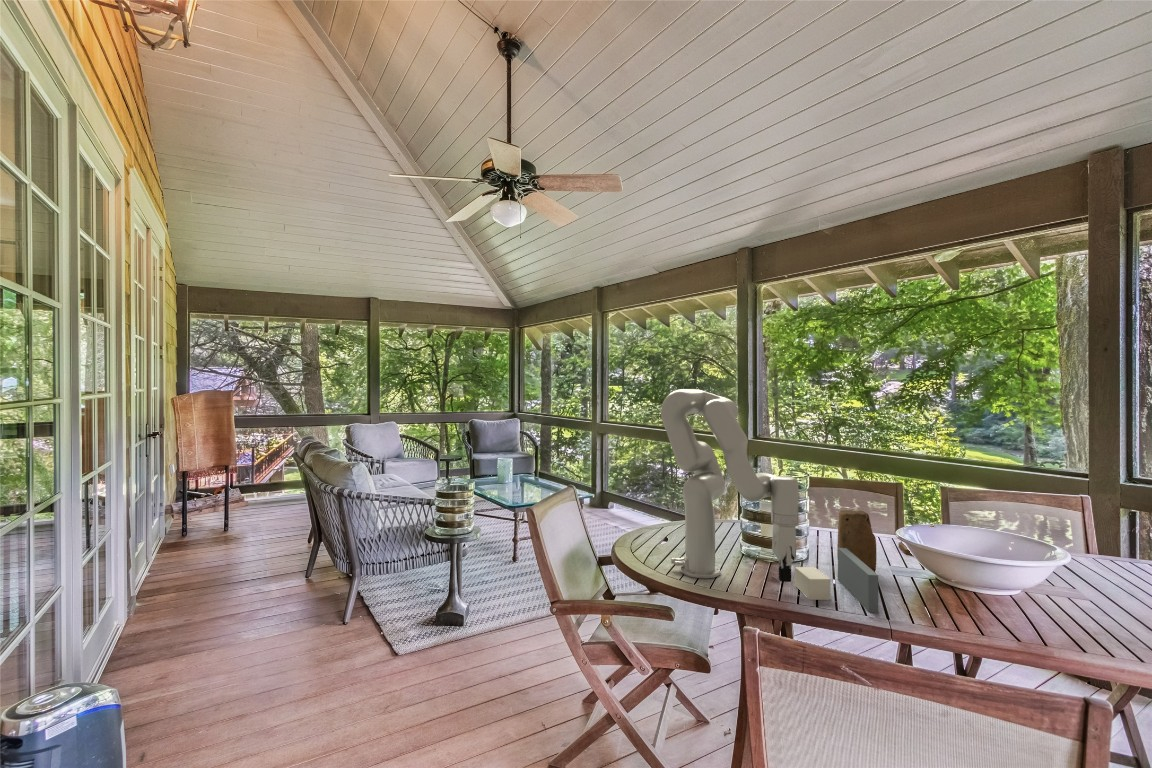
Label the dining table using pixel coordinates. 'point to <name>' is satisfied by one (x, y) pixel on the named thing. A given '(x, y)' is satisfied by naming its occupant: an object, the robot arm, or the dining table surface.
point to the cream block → (813, 583)
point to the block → (857, 536)
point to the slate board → (858, 579)
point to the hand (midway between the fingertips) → (784, 580)
